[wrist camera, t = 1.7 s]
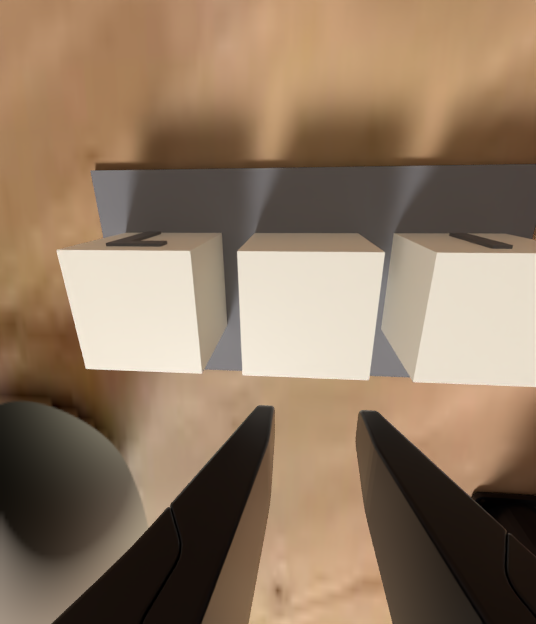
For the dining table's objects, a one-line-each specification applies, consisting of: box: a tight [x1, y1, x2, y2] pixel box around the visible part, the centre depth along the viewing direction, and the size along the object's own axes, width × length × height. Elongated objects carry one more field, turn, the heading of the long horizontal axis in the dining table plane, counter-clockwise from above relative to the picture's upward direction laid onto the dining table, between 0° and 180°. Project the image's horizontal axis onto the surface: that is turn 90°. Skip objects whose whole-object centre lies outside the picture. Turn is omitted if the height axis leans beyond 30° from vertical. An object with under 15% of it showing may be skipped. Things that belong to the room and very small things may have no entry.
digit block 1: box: [381, 233, 536, 387], centre depth 16 cm, size 6×6×6 cm
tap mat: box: [91, 164, 536, 377], centre depth 20 cm, size 25×13×1 cm, turn 91°
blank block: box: [237, 233, 385, 380], centre depth 17 cm, size 6×6×6 cm
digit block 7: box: [57, 231, 227, 374], centre depth 17 cm, size 6×6×6 cm
